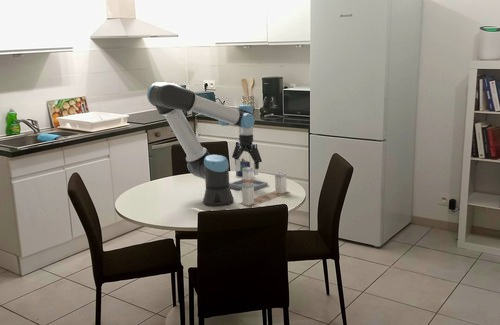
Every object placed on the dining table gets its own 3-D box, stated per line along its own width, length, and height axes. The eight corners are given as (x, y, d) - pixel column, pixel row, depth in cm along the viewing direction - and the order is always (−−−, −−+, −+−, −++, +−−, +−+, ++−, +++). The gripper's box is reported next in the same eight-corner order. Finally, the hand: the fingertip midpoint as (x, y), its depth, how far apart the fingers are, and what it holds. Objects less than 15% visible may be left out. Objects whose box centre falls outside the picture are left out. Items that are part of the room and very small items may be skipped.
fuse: (248, 205, 243) (247, 185, 240) (242, 203, 246) (241, 184, 243) (254, 203, 246) (253, 183, 243) (248, 201, 248) (247, 182, 246)
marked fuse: (248, 187, 273) (247, 169, 271) (243, 186, 276) (242, 168, 274) (253, 185, 276) (252, 167, 274) (248, 184, 279) (247, 166, 276)
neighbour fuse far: (281, 193, 259) (281, 175, 257) (275, 192, 262) (274, 173, 260) (286, 192, 262) (286, 173, 260) (280, 190, 265) (280, 172, 263)
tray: (249, 192, 266) (249, 188, 265) (228, 187, 277) (228, 183, 276) (267, 186, 275) (267, 182, 275) (246, 182, 286) (246, 177, 286)
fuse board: (250, 208, 241) (249, 206, 241) (238, 205, 246) (238, 203, 246) (290, 193, 261) (290, 192, 261) (279, 191, 267) (279, 189, 267)
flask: (235, 175, 301) (234, 158, 299) (237, 174, 304) (236, 157, 302) (249, 176, 298) (248, 159, 295) (251, 175, 300) (250, 158, 298)
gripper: (268, 135, 263) (268, 175, 268) (234, 130, 280) (235, 168, 285) (258, 137, 258) (258, 177, 263) (225, 132, 275) (226, 170, 280)
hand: (246, 172), depth 274 cm, fingers open, 13 cm apart
